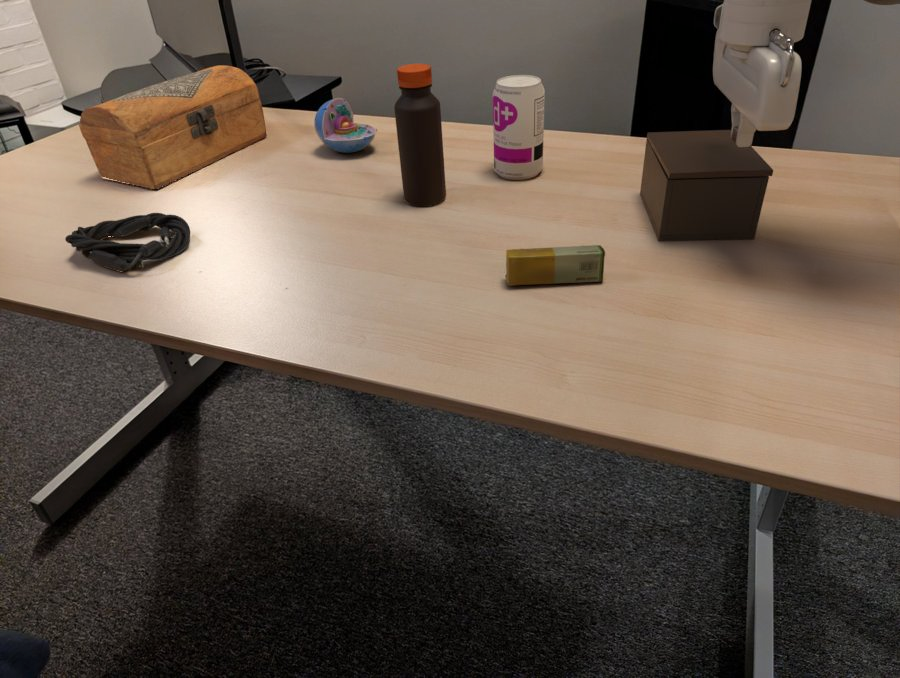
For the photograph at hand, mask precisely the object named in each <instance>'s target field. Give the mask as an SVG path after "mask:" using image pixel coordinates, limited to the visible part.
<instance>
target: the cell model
mask: <svg viewBox="0 0 900 678" xmlns="http://www.w3.org/2000/svg"><path fill="white" fill-rule="evenodd" d="M313 124H314V125H313V126H314V130H315V133H316V135H317V137H318V138H319V140H320V141H321V142H322V143H323V144H324V145H325V146H326V147H327V148H329V149H331V150H332V151H335V152H338V153H341V154H351V153H357V152H359V151H362V150H364V149H365V148H367V147H368V146H369V145H370V144H371V143H372V141H373V140H374V138H375V136H376V133H377V131H378V128H376V127H374V126H372V125H370V124H366V123H358V122H354V112H353V110H352V108H351V106H350V104H349V102H348V101H347V100H345V99H344V98H342V97H336V98H332V99H330V100H327V101H326V102H324V103H323V104H322V105H321V106H320V107H319V108H318V110H317V111H316V113H315V115H314V122H313Z"/></svg>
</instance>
